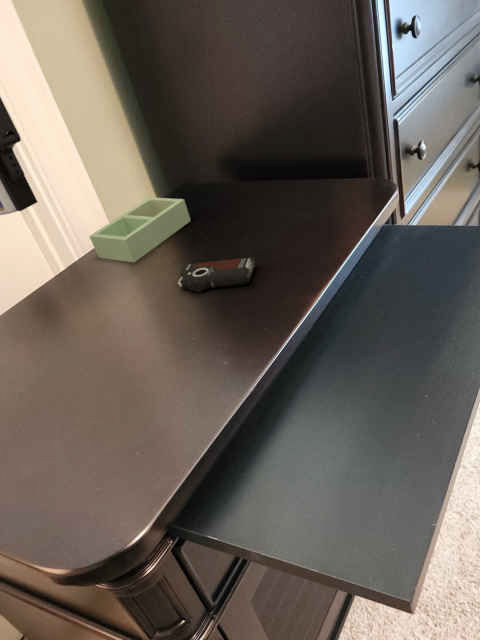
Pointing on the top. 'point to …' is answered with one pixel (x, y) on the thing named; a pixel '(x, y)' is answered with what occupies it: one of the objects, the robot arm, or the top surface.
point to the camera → (216, 274)
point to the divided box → (140, 229)
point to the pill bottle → (5, 202)
